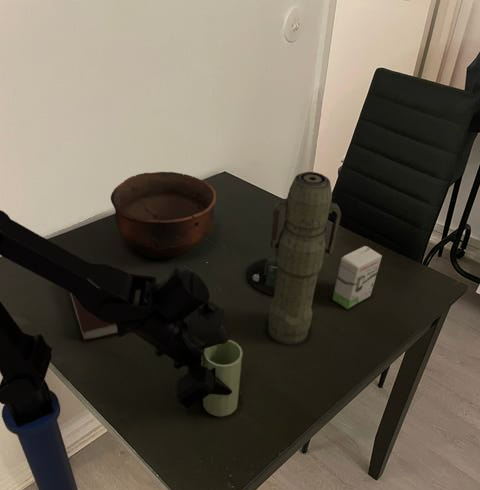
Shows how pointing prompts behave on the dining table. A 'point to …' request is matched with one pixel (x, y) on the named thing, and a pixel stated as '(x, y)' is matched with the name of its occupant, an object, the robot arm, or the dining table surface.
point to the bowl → (164, 212)
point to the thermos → (300, 254)
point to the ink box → (356, 276)
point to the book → (92, 322)
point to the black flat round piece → (264, 275)
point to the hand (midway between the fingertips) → (229, 378)
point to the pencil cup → (224, 376)
